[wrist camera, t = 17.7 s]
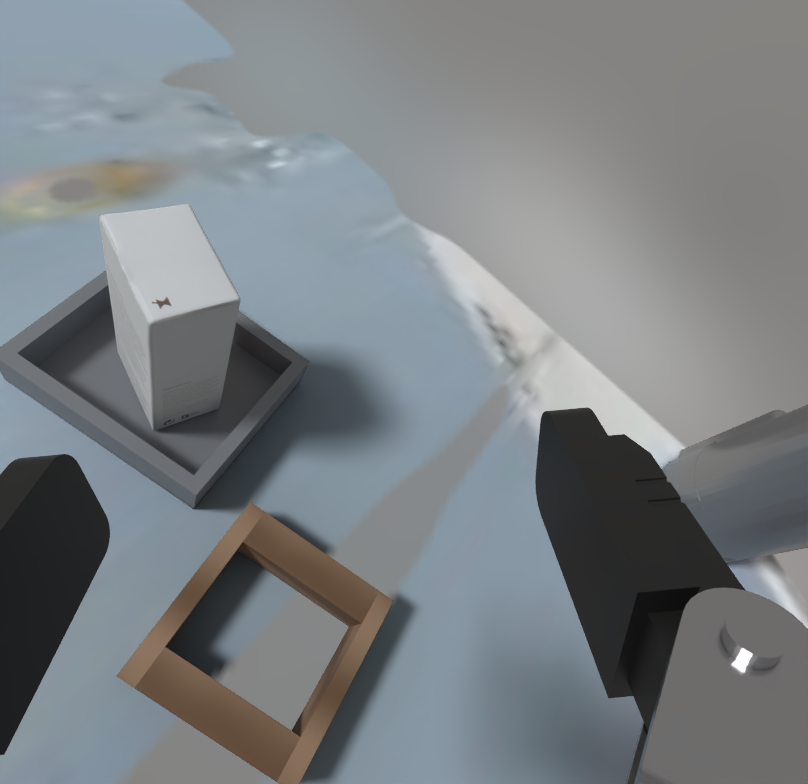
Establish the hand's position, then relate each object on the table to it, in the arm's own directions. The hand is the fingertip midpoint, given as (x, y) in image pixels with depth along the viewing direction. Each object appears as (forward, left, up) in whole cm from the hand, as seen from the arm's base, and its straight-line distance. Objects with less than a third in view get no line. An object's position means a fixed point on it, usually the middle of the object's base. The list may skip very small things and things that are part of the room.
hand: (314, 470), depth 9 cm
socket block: (0, +3, -24) cm, 25 cm away
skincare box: (-9, -11, -24) cm, 28 cm away
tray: (-9, -11, -24) cm, 28 cm away
